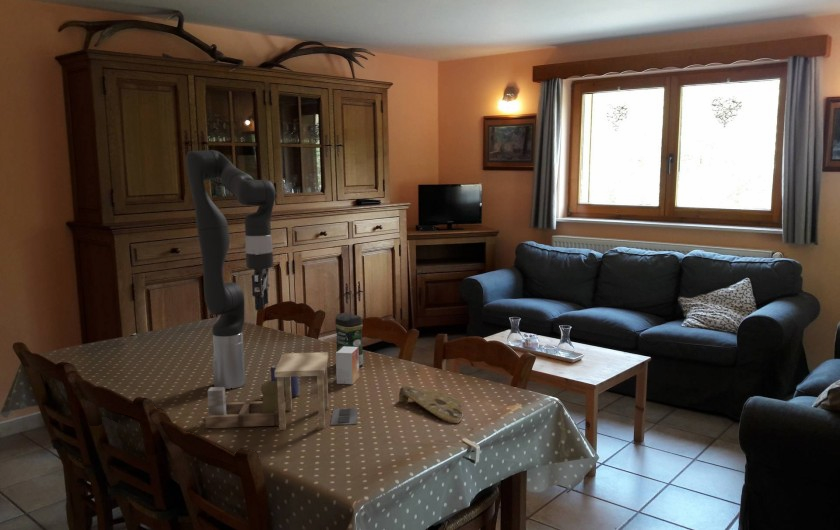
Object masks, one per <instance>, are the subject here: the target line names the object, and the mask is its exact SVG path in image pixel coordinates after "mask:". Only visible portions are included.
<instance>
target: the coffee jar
mask: <svg viewBox="0 0 840 530" xmlns="http://www.w3.org/2000/svg"><path fill="white" fill-rule="evenodd" d="M334 326H335V330H336V352H338V351H339V350H340V349H341V348H342V347H343V346H345V347H359V368H360V367H361V366H363V365H364V351H363V339H362V336H363V335H362V331H363V326H364V325H363V318H362V317H361V315H356V314H351V313H348V312H342V313H338V314H336V316H335V321H334Z"/></svg>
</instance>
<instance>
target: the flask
mask: <svg viewBox="0 0 840 530" xmlns="http://www.w3.org/2000/svg"><path fill="white" fill-rule="evenodd" d="M277 365H278V363H277V364H276V365H271V366H270V379H271V380H270V381H276V382H277V377H275V373H274V372H275V369H276V367H277ZM299 377H300V376H293V377H291V397H292V398H298V397H299V396H300V382H299V379H300V378H299ZM284 396H285V377H284ZM285 398H286V396H285Z"/></svg>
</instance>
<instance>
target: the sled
mask: <svg viewBox="0 0 840 530" xmlns="http://www.w3.org/2000/svg"><path fill="white" fill-rule="evenodd" d="M207 401H208V403H207V404H208V415H206V416H205V428H206V429H216V428H241V427H243V428H244V427H266V426H267V427H268V426H279V410H277V411H275V412H274V413H262V404H263V400H262V401H257V400H256V401H237V402H236V401H233V402H232V401H231V402H227V399H226V389H225V387H213V386H212V387H209V388H208V390H207Z"/></svg>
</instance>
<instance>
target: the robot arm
mask: <svg viewBox="0 0 840 530" xmlns="http://www.w3.org/2000/svg"><path fill="white" fill-rule="evenodd" d="M185 169H186V174H187V175H186V176H187V178H188V182H189V188H190V191H191V196H192V201H193V206H194V213H195V220H196V229H197V237H198V243H199V247H200V254H201V255H200V256H201V263H202V272H203V295H204V296H203V297H204V302H205V305H206V308H207V310H208V311H209V312H210V313H211V314H212V315H214V316H220V317H219V319H218V320H217V321H216V322H215V323H214V324H213V325H212V328H211V329H212V342H213V343H212V344H213V358H212V373H213V374H212V375H213V386H214V387H225V390H228V389H229V390H231V388H232V389H237V388H241V387H242V386H245V384H246V370H245V353H244V352H245V350H244V336H243V327H244V324H245V294H244V291H243V290H242V287H241V286H240V285H239V284H238V283H236V282H233V281H232V282H230V281H229V282H225V279H224V265H225V261H226V258H227V255H228V252H229V246H230V239H231V238H230V233H229V232H230V231H229V227H228V221H227V218H226V217H225V215H224V214H223V213H222V212H221V210H220V209H219V208H218V206H217V205H216V204H215V203H214V202H213V200H212V199H211V197H210V196H209V194H208V192H207V189H206V186H205V181H214V180H218V179H220V182H221V185H222V186H223V187H224V189H226V190H227V191H228V192H230V193H232V194H233V195H234V196H235V197H236V199H237V201H238V203H239V204H241V205H244V206H247V207H249V206H258V208H257V210H256V212H253V213H250V214H248V215H246V216H245V218H244V230H245V231H244V233H245V240H244V241H245V242H244V245H245V246H244V248H245V264H246V268H247V269H248V270H254V272H253V274H252V275H251V287H252V289H251V291H252V294H251V295H252V297H254V306H255V311H264V305H267V304H268V303H269V290H270V289H269V288H270V278H269V269H270V268H271V269H272V268H273V266H274V254H273V253H274V252H273V250H274V248H273V241H272V240H273V238H272V227H271V219H272V214H273V209H274V204H275V201H276V188H275V185H274V183H273V182H272V181H271V180H268V179H254V178H253V177H252V176H251V175H250V174H248V173H246V172H245V171H242V170H241V169H239V168H238V167H236V166H235V165H234V164H233V163H232V162H231V161H230V160H229V159H228V158H227V157H226V156H225V155H224V154H223V153H221V151H218V150H214V149H206V150H191V151H189V152H187V153H186V156H185Z"/></svg>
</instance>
